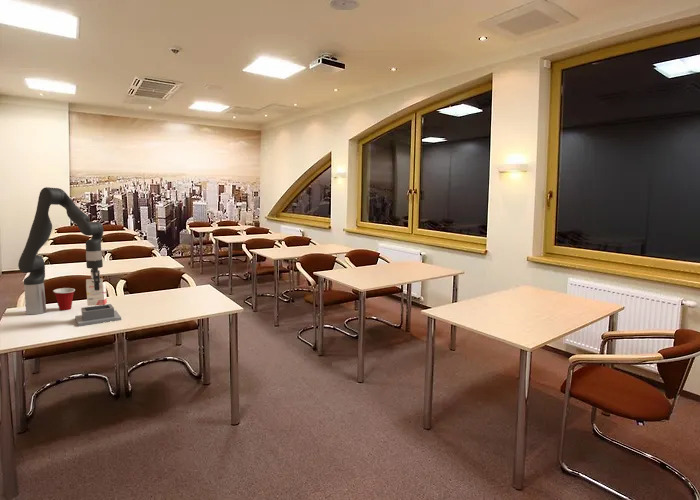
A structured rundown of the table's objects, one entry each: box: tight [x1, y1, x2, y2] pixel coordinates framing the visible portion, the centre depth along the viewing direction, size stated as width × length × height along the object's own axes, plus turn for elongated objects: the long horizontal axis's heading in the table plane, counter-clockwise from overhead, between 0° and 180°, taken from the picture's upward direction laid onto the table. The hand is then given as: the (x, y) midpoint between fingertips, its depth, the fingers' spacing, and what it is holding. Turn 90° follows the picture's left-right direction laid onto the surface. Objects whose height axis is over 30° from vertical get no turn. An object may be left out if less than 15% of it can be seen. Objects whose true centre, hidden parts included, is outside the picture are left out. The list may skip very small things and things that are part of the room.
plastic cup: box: [52, 287, 76, 311], centre depth 248 cm, size 11×11×12 cm
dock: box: [75, 303, 122, 327], centre depth 231 cm, size 20×17×6 cm
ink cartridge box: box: [85, 278, 108, 307], centre depth 229 cm, size 9×5×15 cm, turn 106°
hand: (96, 288), depth 229 cm, fingers closed on ink cartridge box, 6 cm apart
